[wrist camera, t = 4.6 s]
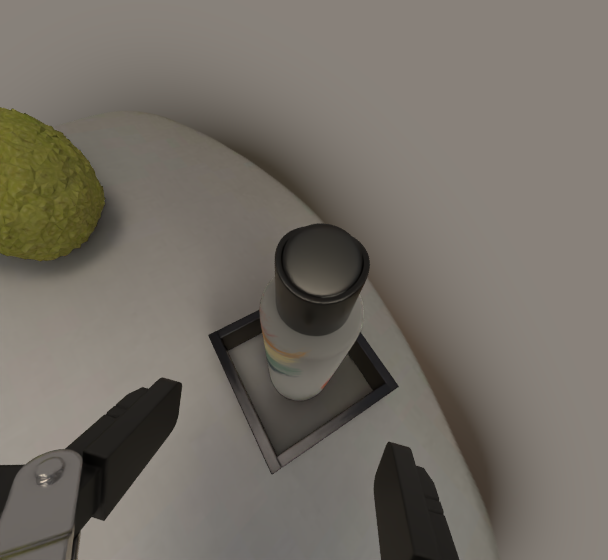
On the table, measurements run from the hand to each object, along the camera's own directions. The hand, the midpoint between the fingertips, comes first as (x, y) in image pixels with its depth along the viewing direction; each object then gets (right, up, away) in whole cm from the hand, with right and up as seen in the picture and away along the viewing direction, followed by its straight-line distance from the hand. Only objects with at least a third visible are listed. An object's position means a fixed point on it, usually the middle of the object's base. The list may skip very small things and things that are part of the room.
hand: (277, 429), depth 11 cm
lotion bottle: (+1, -3, +18) cm, 18 cm away
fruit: (-29, +12, +24) cm, 39 cm away
